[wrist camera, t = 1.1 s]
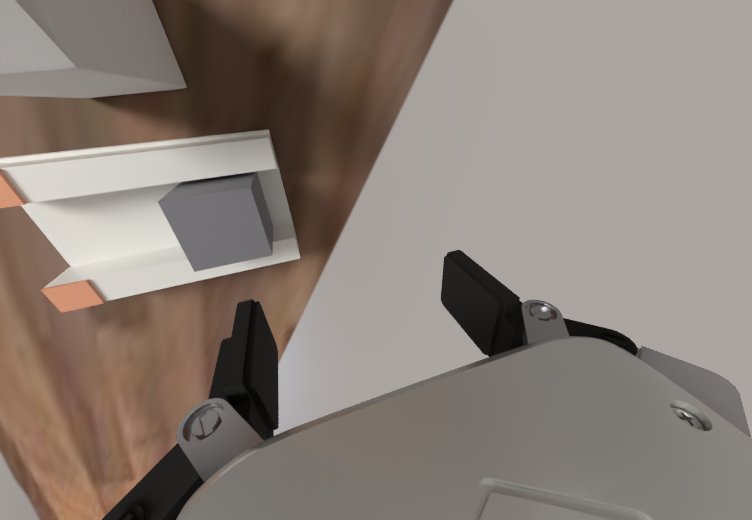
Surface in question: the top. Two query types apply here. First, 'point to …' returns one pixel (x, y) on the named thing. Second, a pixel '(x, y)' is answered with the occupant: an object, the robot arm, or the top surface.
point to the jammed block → (220, 220)
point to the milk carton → (84, 49)
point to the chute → (135, 210)
